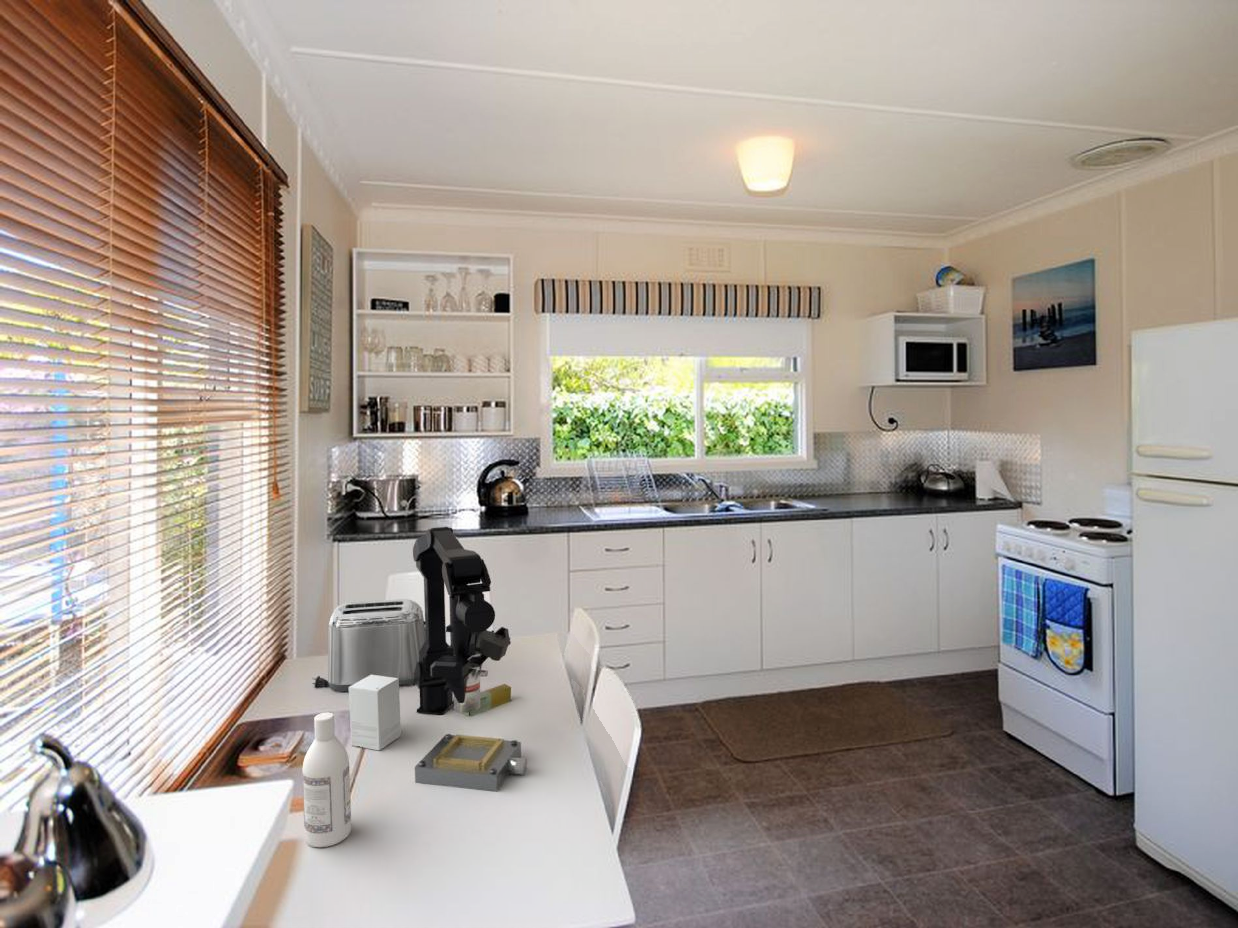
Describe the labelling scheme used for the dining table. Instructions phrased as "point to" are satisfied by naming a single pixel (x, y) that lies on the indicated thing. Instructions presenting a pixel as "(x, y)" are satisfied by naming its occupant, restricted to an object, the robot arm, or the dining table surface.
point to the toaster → (373, 642)
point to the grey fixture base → (471, 762)
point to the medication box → (492, 698)
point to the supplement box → (374, 712)
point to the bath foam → (326, 786)
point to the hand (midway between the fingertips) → (467, 697)
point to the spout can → (471, 691)
